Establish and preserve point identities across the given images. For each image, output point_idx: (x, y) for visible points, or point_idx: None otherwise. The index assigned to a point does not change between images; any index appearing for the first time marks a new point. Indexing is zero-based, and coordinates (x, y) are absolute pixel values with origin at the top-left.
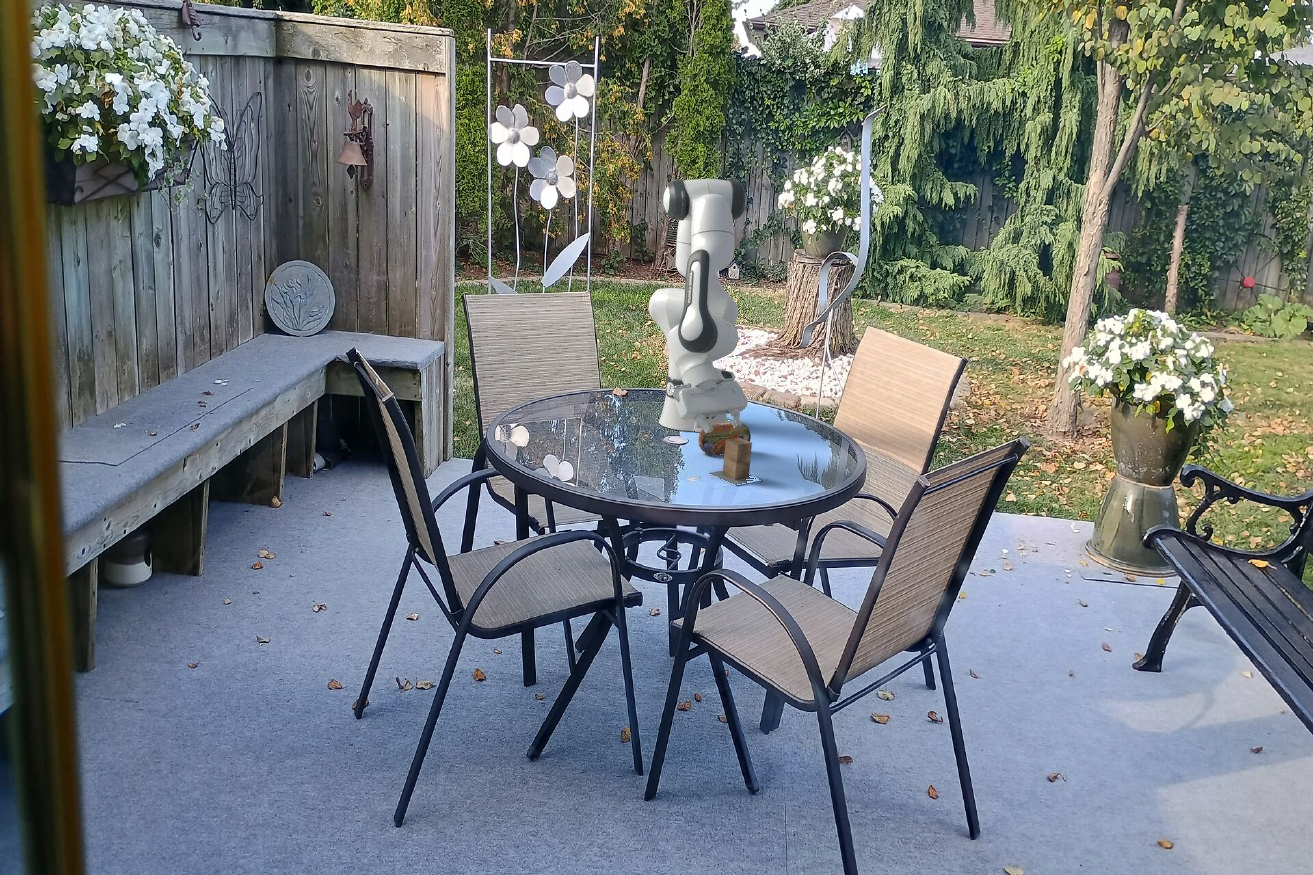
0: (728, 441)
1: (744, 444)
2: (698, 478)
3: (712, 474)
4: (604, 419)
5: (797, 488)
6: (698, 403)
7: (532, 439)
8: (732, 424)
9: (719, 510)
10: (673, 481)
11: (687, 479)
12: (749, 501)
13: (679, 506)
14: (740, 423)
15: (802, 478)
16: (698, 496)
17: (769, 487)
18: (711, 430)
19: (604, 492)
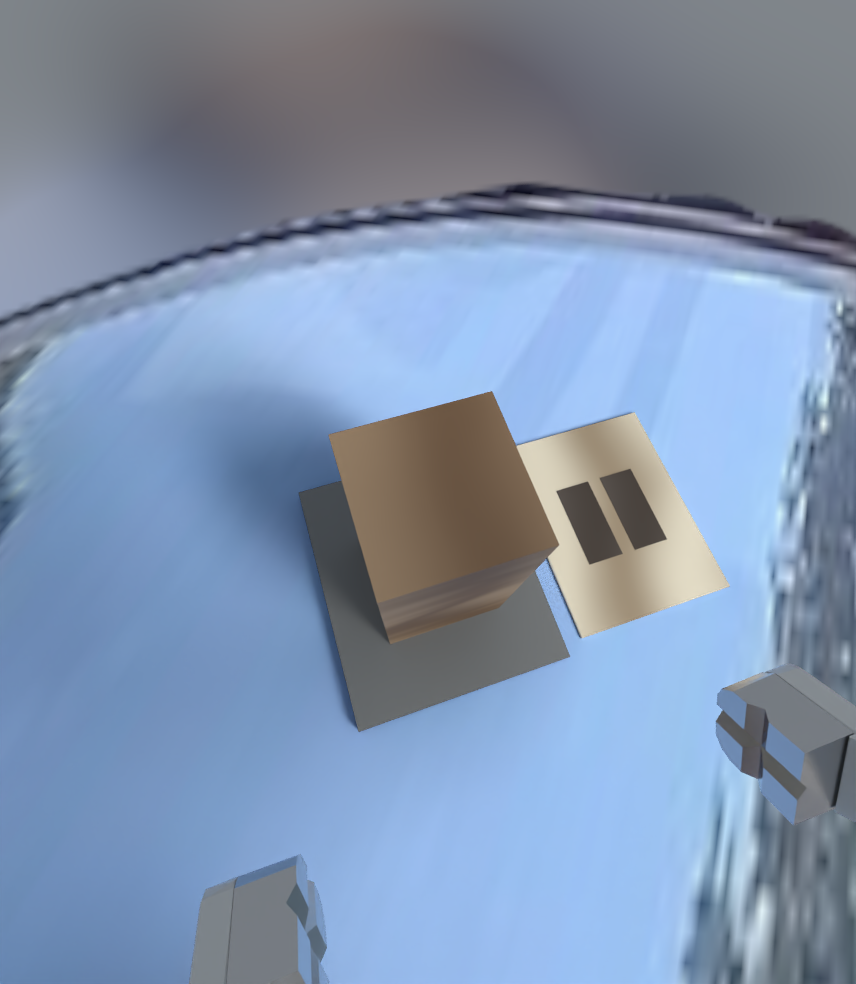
0: (541, 508)
1: (418, 413)
2: (653, 587)
3: (557, 627)
4: None
5: (171, 382)
6: None
7: None
8: (328, 981)
9: (648, 215)
10: (803, 562)
11: (721, 578)
12: (492, 273)
13: (800, 267)
14: (222, 891)
15: (21, 521)
16: (703, 350)
17: (308, 412)
18: (733, 686)
19: None
